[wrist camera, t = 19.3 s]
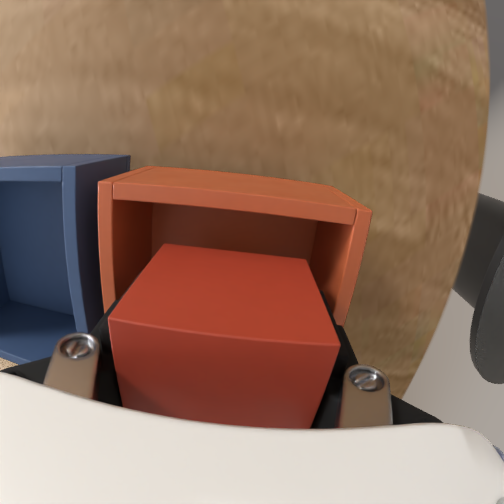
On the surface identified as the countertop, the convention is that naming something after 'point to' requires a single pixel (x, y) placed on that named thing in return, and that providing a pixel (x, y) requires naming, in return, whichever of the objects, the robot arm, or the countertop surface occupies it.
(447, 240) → the countertop surface
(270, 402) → the red block
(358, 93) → the countertop surface
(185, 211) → the orange bin
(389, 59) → the countertop surface
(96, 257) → the blue bin
